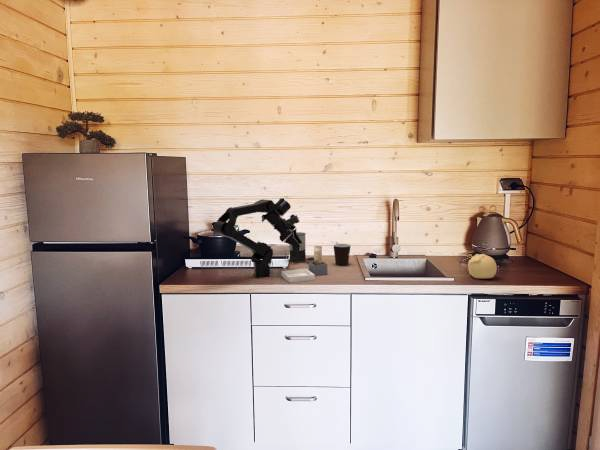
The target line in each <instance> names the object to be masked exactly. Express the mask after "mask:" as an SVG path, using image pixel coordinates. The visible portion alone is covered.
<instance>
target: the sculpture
mask: <svg viewBox="0 0 600 450" xmlns="http://www.w3.org/2000/svg"><path fill="white" fill-rule="evenodd" d="M497 269H498V268H497V263H496V261H495V259H494V258H493V257H491V256H489V255H486V254H485V253H481V254H479V253H475V255H473V256H472V257H471V258H470V259H469V260H468V263H467V270H468V272H469V275H470V276H471V277H473V278H475V279H492V278H494V277H495V276H496V273H497Z"/></svg>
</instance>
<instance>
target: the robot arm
mask: <svg viewBox="0 0 600 450" xmlns="http://www.w3.org/2000/svg"><path fill="white" fill-rule="evenodd" d="M291 207H292V206H291V204H290V203H289V202H288V200H285V199H284V198H283V197H281V198H279V200H278V201H277V202H276V203H275V202H274V201H273V200H271V199H259V200H257V201H255V202H254V203H251V204H245V205H240V206H234V207H233V206H231V207H230V206H229V207H228V208H226V210H225V212H224V213H223V214H222V215H220V216H219V217H218V219H217V221H215V222H214V223H213V226H212V227H213V228H212V230H213V233H214V234H215V235H217V236H218V235H219V236H222V237H226V238H228V239H231V240H232V241H234V242H236V243H237V244H239V245H241V246H243V247H244V248H246V249H248V250H250V251H251V252H252V255H251V257H250V261H251V262H252V263H253V273H252V275H253V277H255V278H266V277H267V278H268V277H270V276H271V275H270V274H271V267H270V265H269V264H272V259H273V256H274V249H273V248H272V246H271V245H269V244H267V243H265V242H261V241H256V242H255V241H254V240H253V239H251V238H249V237H248V236H246V235H244V234H243V233H241V232H239V231H238V230H237V229H236V227H235V226H236V224H237V219H238V217H240V216H244V215H245V216H246V215H251V214H255V213H266V214H262V215H261V222H262V223H264V222H265V221H267V222H268V223H269V224H270V226H272V227H273V229H274V230H276V231H277V232H278V233H279V241H281V242H282V243H285V244H288V245H289V244H290V245H293V246H295V247H298V248H299V247H300V245H299V243H300V244H302V241H301V239H300V238H299V236H298V235H297V233H296V232H297V230H298V229H297V225H295V224H298V223H300V218H299V217H298V215H297V214H296V215H295V214H294V213H293V214H291V215H290V216H289V218H288V219H285V218H283V216H284V215H285V214H286V213H287V212H289V210H290V209H292V208H291Z"/></svg>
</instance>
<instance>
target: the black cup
mask: <svg viewBox="0 0 600 450" xmlns="http://www.w3.org/2000/svg"><path fill="white" fill-rule="evenodd" d="M350 252H351V244H350V243H335V244H333V253H334V261H335V262H334V263H335V266H338V267H346V266H347V267H348V266H349V263H350V262H349V261H350V254H351V253H350Z"/></svg>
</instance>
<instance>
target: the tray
mask: <svg viewBox="0 0 600 450" xmlns="http://www.w3.org/2000/svg"><path fill="white" fill-rule="evenodd" d="M280 274H281V278H282V279H284V280H286V281H287V282H288V283H298V282H299V283H300V282H310V281H315V280H316V276H315V275H314V274H313V273H312V272H310V271H309V269H307V268H298V269H287V270H281V273H280Z"/></svg>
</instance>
